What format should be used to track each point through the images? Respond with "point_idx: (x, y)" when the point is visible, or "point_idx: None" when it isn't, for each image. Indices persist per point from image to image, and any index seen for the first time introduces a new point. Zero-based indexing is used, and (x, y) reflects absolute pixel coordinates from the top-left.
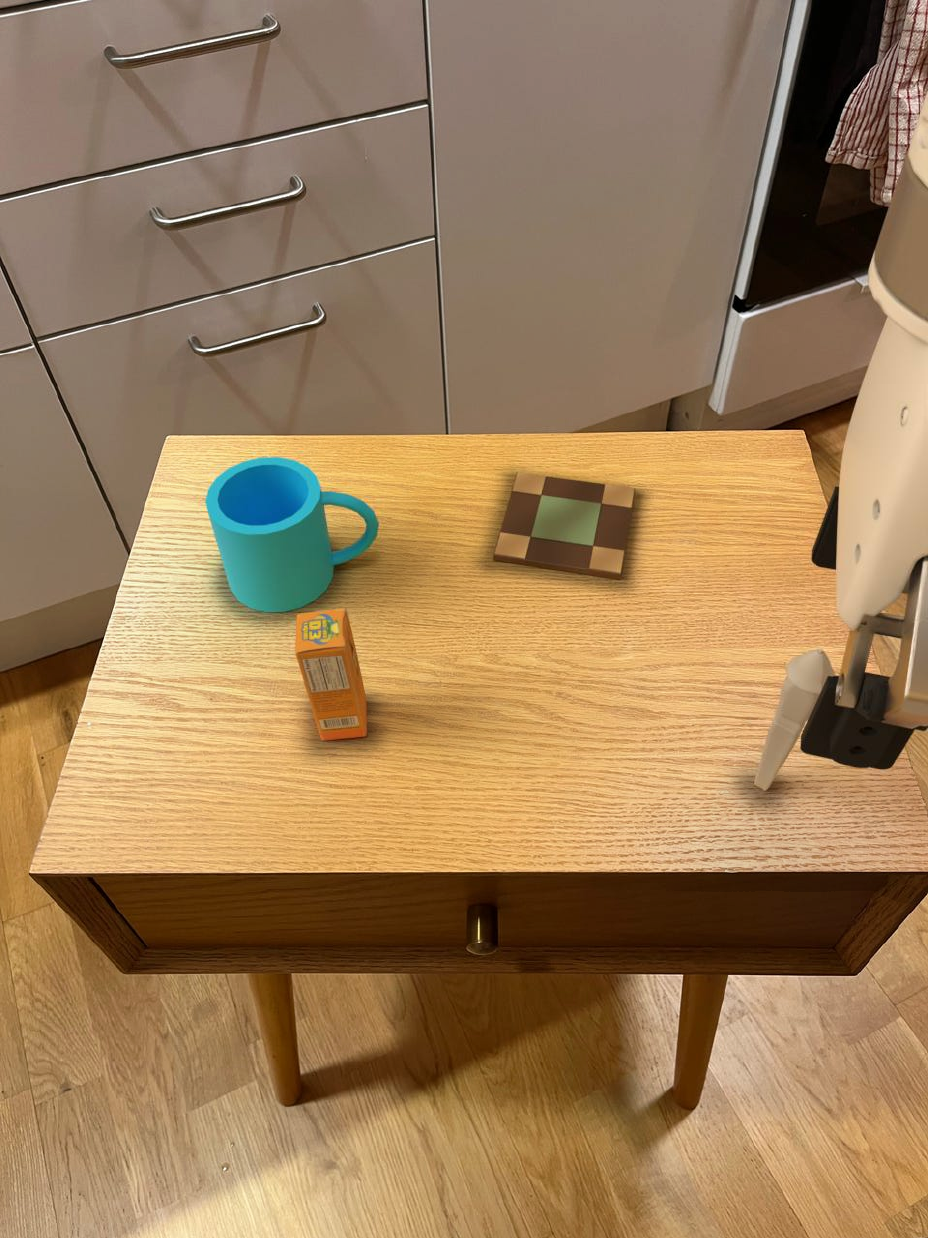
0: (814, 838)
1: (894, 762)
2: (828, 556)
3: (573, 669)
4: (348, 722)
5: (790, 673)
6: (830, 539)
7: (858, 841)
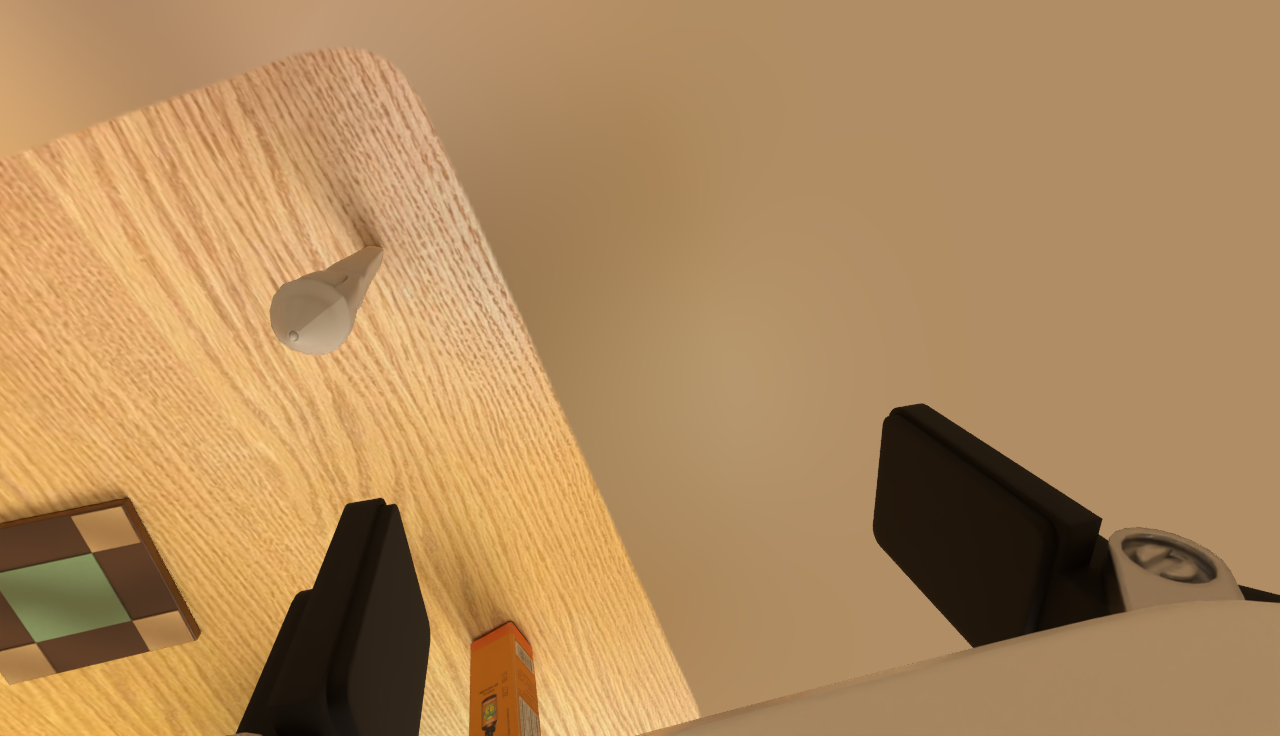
0: (420, 179)
1: (935, 411)
2: (422, 641)
3: (320, 494)
4: (520, 651)
5: (331, 349)
6: (417, 697)
7: (399, 124)
